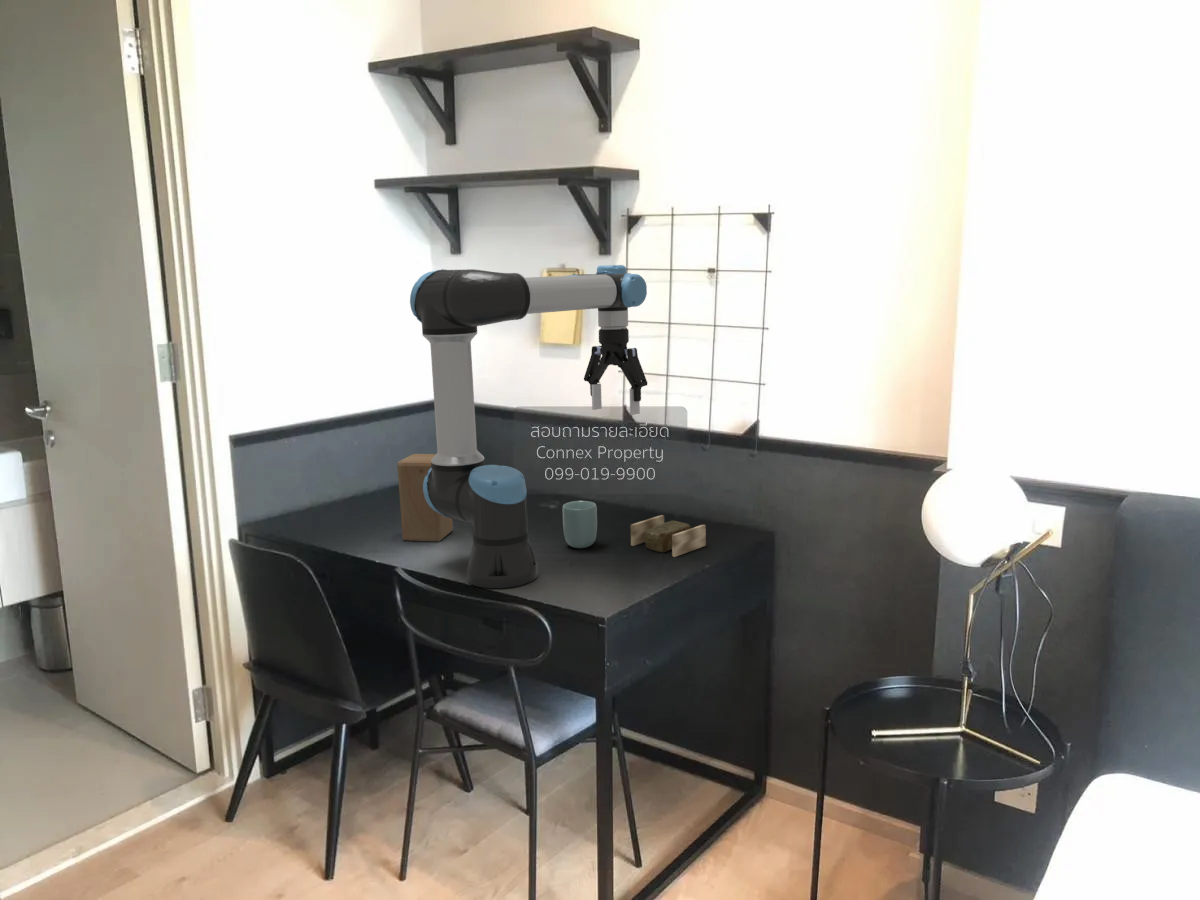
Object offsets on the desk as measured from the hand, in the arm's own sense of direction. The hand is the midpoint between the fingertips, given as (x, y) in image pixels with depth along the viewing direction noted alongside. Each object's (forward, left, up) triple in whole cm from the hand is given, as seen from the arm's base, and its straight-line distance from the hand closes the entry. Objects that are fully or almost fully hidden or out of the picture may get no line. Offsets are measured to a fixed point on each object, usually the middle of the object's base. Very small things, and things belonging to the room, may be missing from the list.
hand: (615, 411), depth 234 cm
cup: (-23, -10, -28) cm, 38 cm away
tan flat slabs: (-10, -26, -28) cm, 39 cm away
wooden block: (-42, +25, -28) cm, 57 cm away
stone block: (-10, -26, -28) cm, 40 cm away
